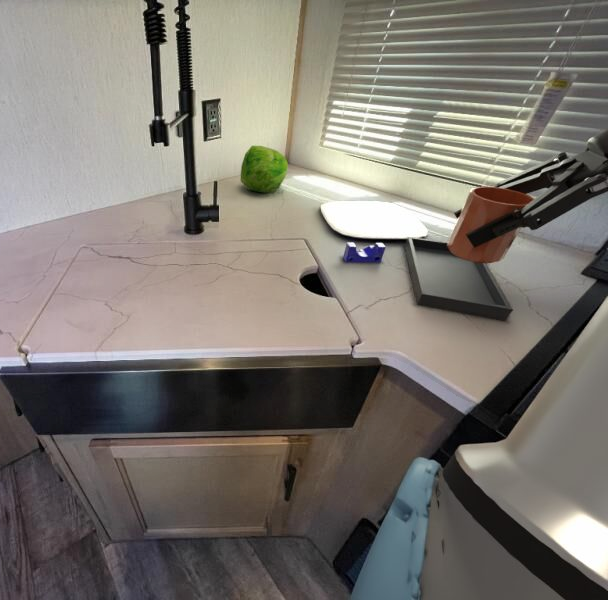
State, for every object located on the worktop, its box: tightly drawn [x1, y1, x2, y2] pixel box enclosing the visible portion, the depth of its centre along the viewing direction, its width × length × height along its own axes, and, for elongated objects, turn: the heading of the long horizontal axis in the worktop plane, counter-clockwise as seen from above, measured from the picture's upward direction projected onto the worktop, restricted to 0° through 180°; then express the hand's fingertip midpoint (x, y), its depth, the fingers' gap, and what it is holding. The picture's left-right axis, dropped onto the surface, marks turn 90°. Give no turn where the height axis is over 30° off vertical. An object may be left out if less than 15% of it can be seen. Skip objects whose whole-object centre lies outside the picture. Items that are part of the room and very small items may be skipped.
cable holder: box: [342, 242, 386, 264], centre depth 80 cm, size 8×4×4 cm, turn 89°
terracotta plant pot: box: [446, 186, 535, 264], centre depth 62 cm, size 9×9×11 cm
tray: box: [404, 237, 514, 322], centre depth 74 cm, size 26×15×3 cm, turn 161°
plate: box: [319, 200, 429, 241], centre depth 97 cm, size 25×25×2 cm
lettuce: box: [240, 145, 289, 194], centre depth 116 cm, size 15×20×14 cm
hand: (463, 229), depth 64 cm, fingers closed on terracotta plant pot, 9 cm apart
